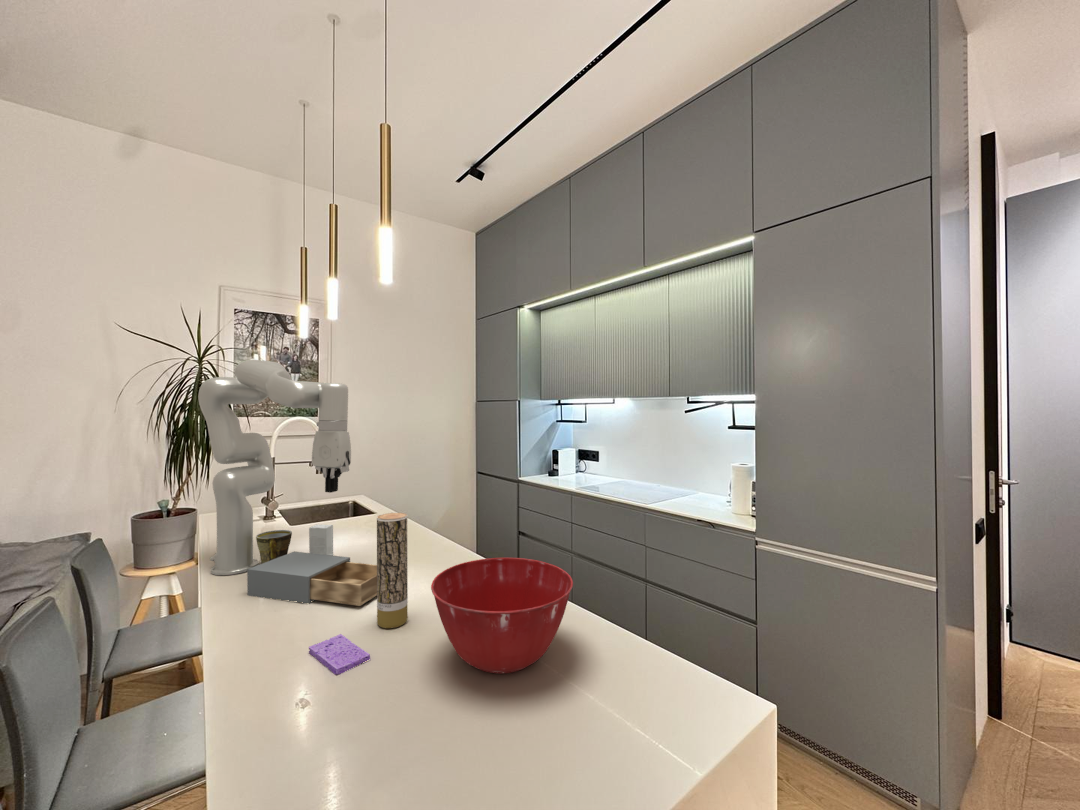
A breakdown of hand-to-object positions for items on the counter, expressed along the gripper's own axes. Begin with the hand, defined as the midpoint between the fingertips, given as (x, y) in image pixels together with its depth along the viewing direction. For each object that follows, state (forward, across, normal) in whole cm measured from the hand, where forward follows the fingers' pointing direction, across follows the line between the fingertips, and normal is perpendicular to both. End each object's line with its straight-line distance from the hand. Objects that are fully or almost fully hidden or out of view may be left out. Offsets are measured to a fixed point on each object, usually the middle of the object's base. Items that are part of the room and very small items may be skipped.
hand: (331, 491), depth 132 cm
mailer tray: (+25, +9, -4) cm, 27 cm away
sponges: (+26, +29, -31) cm, 50 cm away
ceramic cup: (+28, -28, +8) cm, 40 cm away
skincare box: (+28, -16, +15) cm, 35 cm away
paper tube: (+26, +31, -15) cm, 43 cm away
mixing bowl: (+25, +61, -21) cm, 69 cm away
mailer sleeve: (+27, -6, -4) cm, 28 cm away
